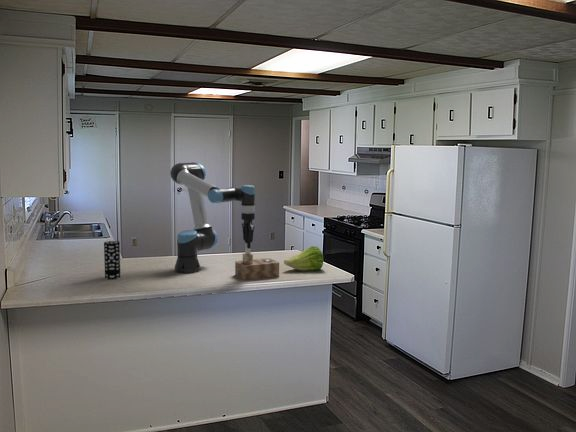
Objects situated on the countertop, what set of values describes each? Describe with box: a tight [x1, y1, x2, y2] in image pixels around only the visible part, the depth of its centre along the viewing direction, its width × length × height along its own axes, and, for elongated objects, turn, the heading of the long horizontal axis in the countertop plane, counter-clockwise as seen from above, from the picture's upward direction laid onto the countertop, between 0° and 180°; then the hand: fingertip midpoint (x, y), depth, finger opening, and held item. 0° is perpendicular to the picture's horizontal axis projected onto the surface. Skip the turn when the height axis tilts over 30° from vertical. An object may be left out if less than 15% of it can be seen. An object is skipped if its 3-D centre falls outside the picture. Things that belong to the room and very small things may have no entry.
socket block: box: [234, 257, 280, 281], centre depth 310 cm, size 22×13×8 cm, turn 117°
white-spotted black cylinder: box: [103, 240, 122, 280], centre depth 299 cm, size 8×8×20 cm
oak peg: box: [242, 252, 254, 264], centre depth 306 cm, size 4×4×8 cm
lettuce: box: [283, 245, 325, 272], centre depth 325 cm, size 14×24×15 cm
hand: (247, 253), depth 306 cm, fingers closed
